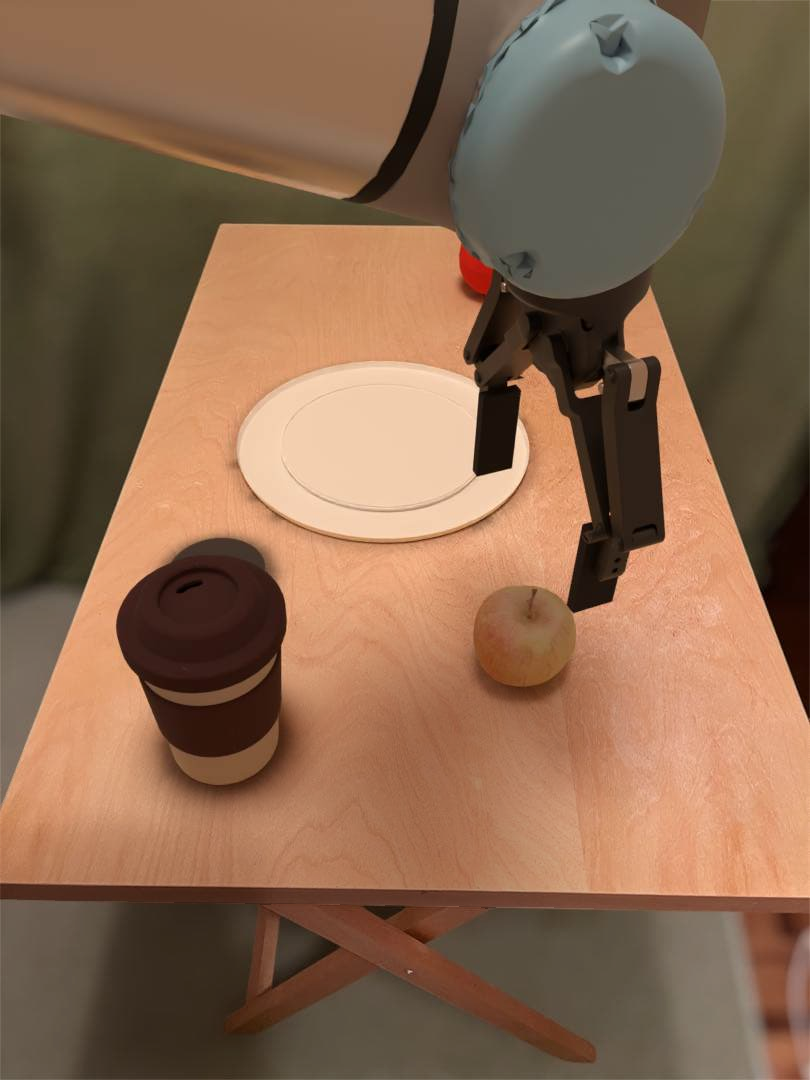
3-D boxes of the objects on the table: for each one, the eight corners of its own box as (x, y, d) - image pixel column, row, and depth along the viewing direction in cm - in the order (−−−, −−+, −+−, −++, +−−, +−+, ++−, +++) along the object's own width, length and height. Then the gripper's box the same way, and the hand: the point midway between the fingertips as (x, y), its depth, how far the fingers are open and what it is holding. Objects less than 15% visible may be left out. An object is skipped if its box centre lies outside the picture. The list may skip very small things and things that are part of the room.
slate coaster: (178, 624, 71) (176, 617, 71) (159, 557, 77) (158, 550, 76) (277, 598, 73) (277, 591, 73) (252, 535, 79) (252, 528, 78)
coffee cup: (292, 806, 60) (274, 660, 50) (140, 805, 60) (91, 658, 49) (303, 685, 67) (290, 536, 57) (167, 684, 67) (130, 534, 57)
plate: (569, 412, 93) (570, 406, 92) (453, 586, 75) (454, 580, 74) (332, 341, 102) (332, 336, 101) (176, 481, 84) (175, 475, 83)
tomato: (438, 284, 113) (442, 213, 106) (511, 259, 118) (518, 190, 112) (494, 320, 106) (502, 247, 100) (569, 292, 112) (580, 221, 106)
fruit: (499, 615, 73) (509, 542, 67) (583, 655, 70) (600, 582, 64) (449, 678, 68) (455, 604, 62) (537, 724, 65) (552, 651, 60)
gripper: (817, 321, 37) (697, 654, 52) (536, 119, 54) (505, 414, 69) (660, 355, 35) (581, 692, 50) (419, 135, 52) (412, 434, 67)
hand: (537, 531), depth 59 cm, fingers open, 13 cm apart
